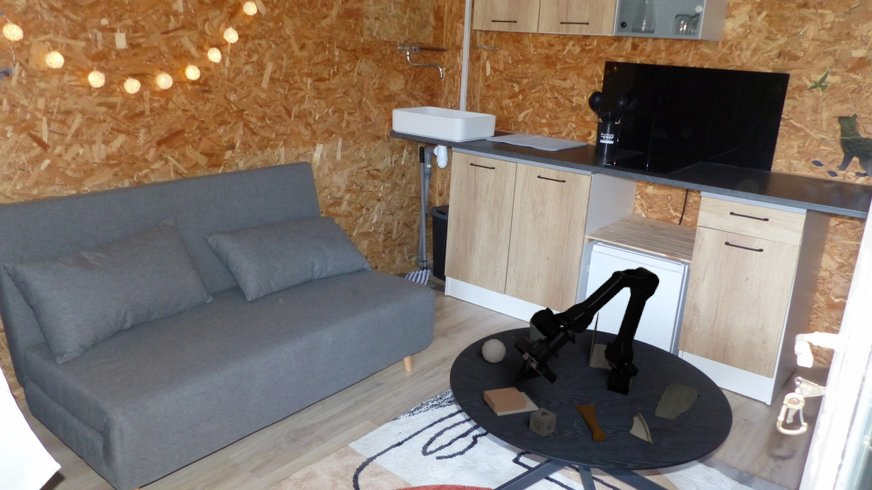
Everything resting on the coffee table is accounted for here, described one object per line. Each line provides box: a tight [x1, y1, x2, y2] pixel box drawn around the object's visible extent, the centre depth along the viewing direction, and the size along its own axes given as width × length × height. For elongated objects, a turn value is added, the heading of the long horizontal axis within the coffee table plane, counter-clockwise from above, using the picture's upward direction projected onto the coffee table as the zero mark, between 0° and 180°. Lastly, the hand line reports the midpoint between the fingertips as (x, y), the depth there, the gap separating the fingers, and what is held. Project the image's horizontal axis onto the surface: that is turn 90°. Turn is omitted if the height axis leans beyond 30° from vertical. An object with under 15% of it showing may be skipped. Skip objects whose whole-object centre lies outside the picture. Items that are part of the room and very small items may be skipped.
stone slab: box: [654, 382, 700, 421], centre depth 212 cm, size 22×3×10 cm
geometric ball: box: [481, 338, 506, 364], centre depth 232 cm, size 8×8×8 cm
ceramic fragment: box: [629, 412, 654, 446], centre depth 196 cm, size 14×5×4 cm, turn 179°
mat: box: [494, 391, 539, 417], centre depth 207 cm, size 13×10×1 cm
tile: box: [483, 386, 527, 413], centre depth 206 cm, size 3×8×10 cm
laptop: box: [589, 311, 612, 371], centre depth 237 cm, size 18×12×13 cm
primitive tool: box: [575, 404, 607, 443], centre depth 199 cm, size 19×6×4 cm, turn 4°
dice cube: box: [528, 407, 557, 437], centre depth 194 cm, size 5×5×5 cm
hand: (514, 382), depth 205 cm, fingers closed
